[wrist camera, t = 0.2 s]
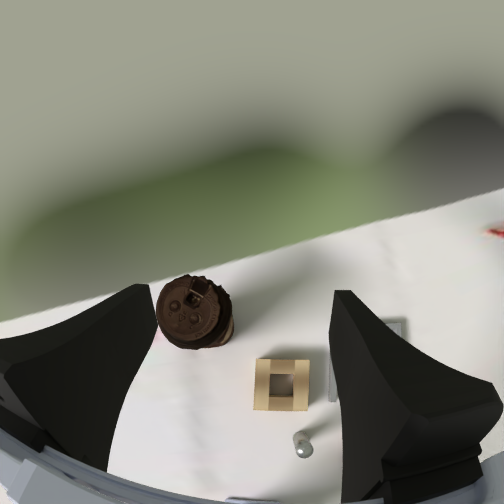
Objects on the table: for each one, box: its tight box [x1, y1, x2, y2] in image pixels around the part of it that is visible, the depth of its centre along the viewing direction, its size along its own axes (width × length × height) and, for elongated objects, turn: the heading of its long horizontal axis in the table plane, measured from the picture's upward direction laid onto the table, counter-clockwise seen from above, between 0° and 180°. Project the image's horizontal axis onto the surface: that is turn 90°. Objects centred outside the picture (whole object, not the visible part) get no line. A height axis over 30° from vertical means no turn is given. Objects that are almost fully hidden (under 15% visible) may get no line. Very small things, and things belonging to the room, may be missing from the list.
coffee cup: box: [156, 274, 234, 350], centre depth 35 cm, size 9×8×13 cm
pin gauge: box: [293, 431, 313, 458], centre depth 31 cm, size 2×2×7 cm
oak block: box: [253, 359, 310, 411], centre depth 36 cm, size 7×7×3 cm
